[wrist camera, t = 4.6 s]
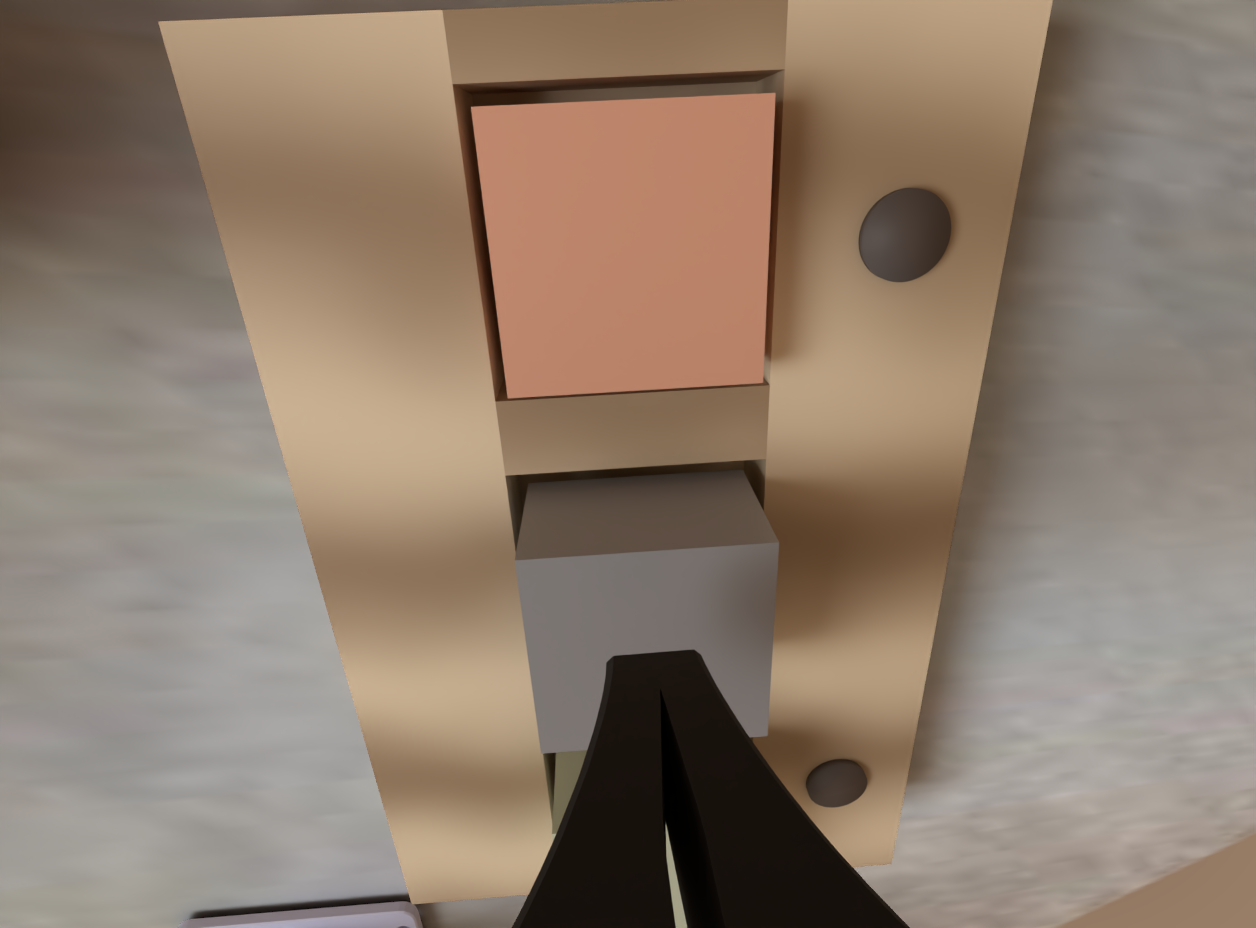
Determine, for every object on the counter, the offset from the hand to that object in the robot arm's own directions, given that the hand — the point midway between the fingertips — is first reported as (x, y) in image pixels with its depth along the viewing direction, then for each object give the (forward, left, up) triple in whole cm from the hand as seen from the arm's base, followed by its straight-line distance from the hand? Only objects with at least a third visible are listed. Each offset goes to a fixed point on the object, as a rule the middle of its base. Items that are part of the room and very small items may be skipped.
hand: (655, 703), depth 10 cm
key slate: (-1, 0, -5) cm, 5 cm away
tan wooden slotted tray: (-1, 0, -7) cm, 7 cm away
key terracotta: (+6, 0, -7) cm, 9 cm away
